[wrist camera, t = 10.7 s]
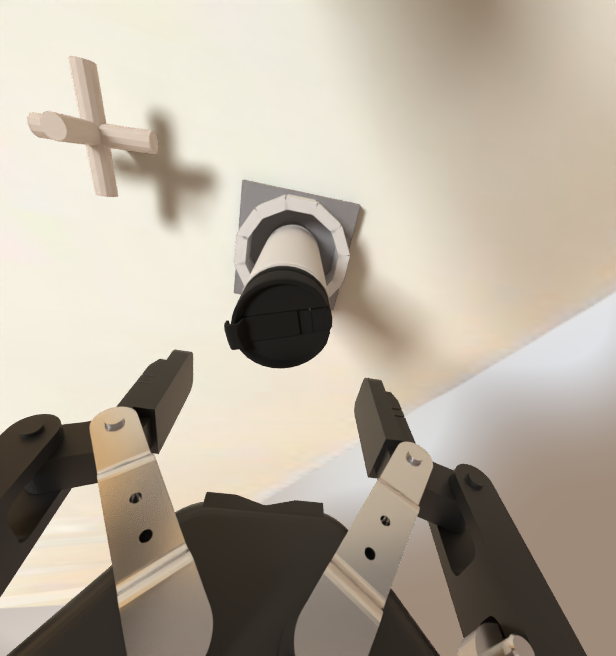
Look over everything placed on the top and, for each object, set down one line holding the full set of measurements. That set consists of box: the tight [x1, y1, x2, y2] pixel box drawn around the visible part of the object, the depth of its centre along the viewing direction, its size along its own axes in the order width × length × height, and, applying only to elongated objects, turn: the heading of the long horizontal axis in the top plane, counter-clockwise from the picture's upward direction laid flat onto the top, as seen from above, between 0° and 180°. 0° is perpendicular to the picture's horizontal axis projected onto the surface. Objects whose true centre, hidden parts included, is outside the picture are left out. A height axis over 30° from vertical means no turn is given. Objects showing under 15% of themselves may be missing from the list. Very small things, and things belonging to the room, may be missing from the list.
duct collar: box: [234, 180, 360, 310], centre depth 34 cm, size 13×13×5 cm
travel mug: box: [224, 223, 332, 368], centre depth 26 cm, size 6×7×20 cm
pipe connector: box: [27, 56, 158, 197], centre depth 26 cm, size 10×10×10 cm
